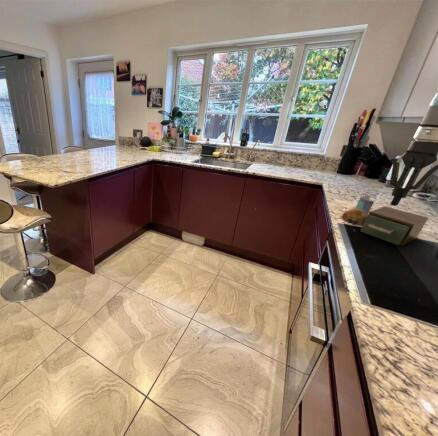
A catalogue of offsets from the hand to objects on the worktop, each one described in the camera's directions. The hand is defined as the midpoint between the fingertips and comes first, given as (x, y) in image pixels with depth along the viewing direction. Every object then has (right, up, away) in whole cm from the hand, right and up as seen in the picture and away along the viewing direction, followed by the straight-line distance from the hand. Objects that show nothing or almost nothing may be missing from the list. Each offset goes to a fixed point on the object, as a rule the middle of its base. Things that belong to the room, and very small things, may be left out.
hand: (393, 204), depth 89 cm
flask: (+17, -3, +33) cm, 37 cm away
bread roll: (+6, -7, +24) cm, 26 cm away
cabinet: (+10, -13, +12) cm, 20 cm away
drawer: (+5, -13, +9) cm, 16 cm away
